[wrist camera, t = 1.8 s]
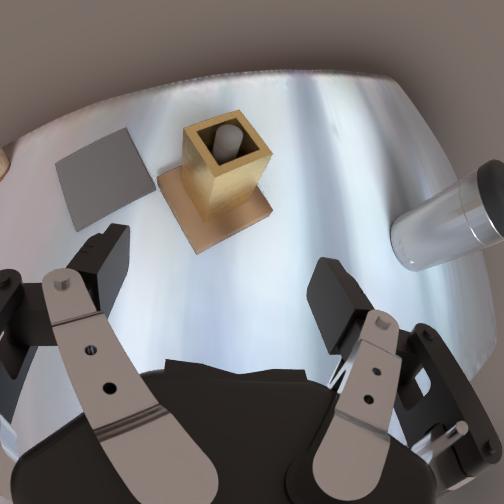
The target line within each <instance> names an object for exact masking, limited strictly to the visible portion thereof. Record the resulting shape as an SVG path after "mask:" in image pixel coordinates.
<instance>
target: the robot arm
mask: <svg viewBox="0 0 504 504" xmlns="http://www.w3.org/2000/svg"><path fill="white" fill-rule="evenodd" d="M501 241H504V163H502V162H501V161H499V160H490V161H488V162H487V163H485V164H484V165H482V166H481V167H479V168H478V169H476V170H475V171H473V172H471V173H470V174H468V175H467V176H465V177H464V178H462V179H461V180H459V181H457V182H456V183H454V184H453V185H451V186H449V187H448V188H446V189H444V190H443V191H441V192H440V193H438V194H436V195H435V196H433V197H431V198H430V199H428V200H426V201H425V202H423V203H421V204H420V205H418V206H416V207H414V208H413V209H411V210H409V211H407V212H406V213H404V214H402V215H401V216H399V217H398V218H396V219H395V221H394V222H393V225H392V228H391V242H392V246H393V250H394V252H395V254H396V256H397V258H398V260H399V261H400V262H401V263H402V265H403V266H404V267H406V268H407V269H409V270H411V271H421V270H424V269H427V268H430V267H433V266H436V265H439V264H442V263H445V262H448V261H451V260H454V259H457V258H459V257H462V256H465V255H468V254H470V253H473V252H476V251H479V250H481V249H484V248H486V247H489V246H491V245H494V244H496V243H499V242H501ZM129 249H130V227H129V226H127V225H121V224H114V223H111V224H110V226H109V227H108V228H107V230H106V231H105V232H104V233H103V234H101V233H97V234H96V235H94V236H92V237H90V238H89V239H88V240H87V241H86V242H85V244H84V245H83V246H82V247H81V249H80V250H79V252H77V254H76V255H75V256H74V258H73V259H72V260H71V261H70V263H69V264H68V265H67V267H66V268H61V269H56V270H53V271H51V272H49V273H48V274H47V275H46V276H45V277H44V278H43V280H42V283H23V282H22V278H21V275H20V273H19V272H18V271H16V270H13V269H4V270H0V335H1V334H2V332H3V331H4V334H3V336H2V338H1V340H0V496H2V497H4V498H6V499H8V500H10V501H12V502H13V504H436V499H438V498H440V497H442V496H444V495H446V494H448V493H450V492H452V491H454V490H455V489H457V488H459V487H461V486H462V485H464V484H466V483H467V482H469V481H471V480H472V479H474V478H476V477H477V476H479V475H480V474H482V473H483V472H485V471H486V470H488V469H489V468H491V467H492V466H493V465H495V464H496V463H497V462H499V460H500V459H501V456H502V445H501V442H500V440H499V438H498V436H497V433H496V432H495V429H494V427H493V425H492V423H491V421H490V419H489V417H488V415H487V413H486V412H485V410H484V408H483V406H482V404H481V402H480V400H479V399H478V397H477V395H476V393H475V391H474V390H473V388H472V386H471V384H470V383H469V381H468V379H467V378H466V376H465V374H464V373H463V371H462V369H461V368H460V366H459V364H458V363H457V361H456V360H455V358H454V356H453V355H452V353H451V352H450V350H449V349H448V347H447V346H446V344H445V343H444V341H443V340H442V338H441V337H440V335H439V334H438V332H437V331H436V330H434V329H433V328H432V327H430V326H429V325H426V324H423V323H419V324H416V326H415V327H414V329H413V330H412V332H408V331H404V330H401V329H399V325H398V323H397V321H396V320H395V319H394V318H393V317H392V316H391V315H389V314H387V313H386V312H383V311H380V310H375V309H374V307H373V306H372V304H371V303H370V301H369V300H368V298H367V297H366V295H365V294H364V293H363V291H362V289H361V288H360V287H359V285H358V283H357V282H356V280H355V279H354V278H353V277H352V276H351V275H350V274H348V273H347V272H346V271H345V269H344V268H343V266H342V265H341V263H340V262H339V260H337V259H331V258H325V257H321V258H320V259H319V260H318V262H317V265H316V267H315V270H314V272H313V275H312V278H311V280H310V283H309V285H308V288H307V301H308V303H309V306H310V308H311V311H312V313H313V315H314V318H315V320H316V323H317V325H318V328H319V330H320V333H321V335H322V338H323V340H324V343H325V345H326V348H327V350H328V353H329V355H341V356H342V357H341V359H340V360H339V362H338V364H337V366H336V368H335V370H334V372H333V374H332V376H331V378H330V381H329V383H328V385H327V387H326V386H324V385H322V384H320V383H317V382H314V381H311V380H307V377H306V373H305V370H293V369H270V370H265V371H259V372H253V373H246V374H235V373H231V372H228V371H224V370H221V369H217V368H214V367H211V366H207V365H204V364H200V363H192V362H184V361H176V360H169V359H166V361H165V369H161V370H153V371H148V372H145V373H141V374H139V373H138V372H137V370H136V369H135V367H134V365H133V364H132V362H131V361H130V359H129V357H128V356H127V354H126V352H125V351H124V349H123V347H122V345H121V344H120V342H119V340H118V338H117V337H116V335H115V333H114V331H113V329H112V328H111V326H110V324H109V322H108V320H107V319H108V317H109V314H110V312H111V309H112V307H113V305H114V302H115V300H116V298H117V295H118V293H119V291H120V288H121V286H122V284H123V282H124V279H125V277H126V275H127V272H128V267H129ZM38 346H58V348H59V351H60V354H61V357H62V360H63V362H64V365H65V368H66V371H67V373H68V376H69V378H70V381H71V383H72V386H73V388H74V391H75V393H76V395H77V398H78V400H79V402H80V404H81V406H82V409H83V411H84V412H83V413H81V414H80V415H78V416H77V417H76V418H74V419H73V420H71V421H70V422H68V423H67V424H66V425H64V426H63V427H61V428H60V429H59V430H57V431H56V432H54V433H53V434H51V435H50V436H48V437H47V438H46V439H44V440H43V441H41V442H40V443H38V444H37V445H35V446H34V447H32V448H31V449H29V450H28V451H27V452H25V453H24V454H23V455H22V456H21V457H20V458H18V450H17V443H18V442H17V436H16V433H15V431H14V429H13V427H12V426H11V422H12V418H13V415H14V411H15V408H16V405H17V402H18V399H19V396H20V393H21V390H22V387H23V384H24V381H25V379H26V376H27V373H28V371H29V368H30V365H31V363H32V360H33V358H34V356H35V353H36V351H37V348H38ZM423 367H424V369H425V371H426V373H427V375H428V377H429V379H430V381H431V387H430V390H429V392H428V393H427V394H426V395H425V396H423V394H422V392H421V390H420V388H419V386H418V384H417V382H416V380H415V377H416V375H417V374H418V373H419V372H420V371H421V369H422V368H423ZM393 407H394V410H395V412H396V415H397V417H398V420H399V422H400V425H401V428H402V430H403V433H404V436H405V438H406V441H407V444H408V447H409V448H407V447H406V446H405V445H403V444H402V443H400V442H399V441H398V440H396V439H395V438H394V437H392V436H391V435H390V434H388V427H389V423H390V419H391V415H392V410H393Z"/></svg>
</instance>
